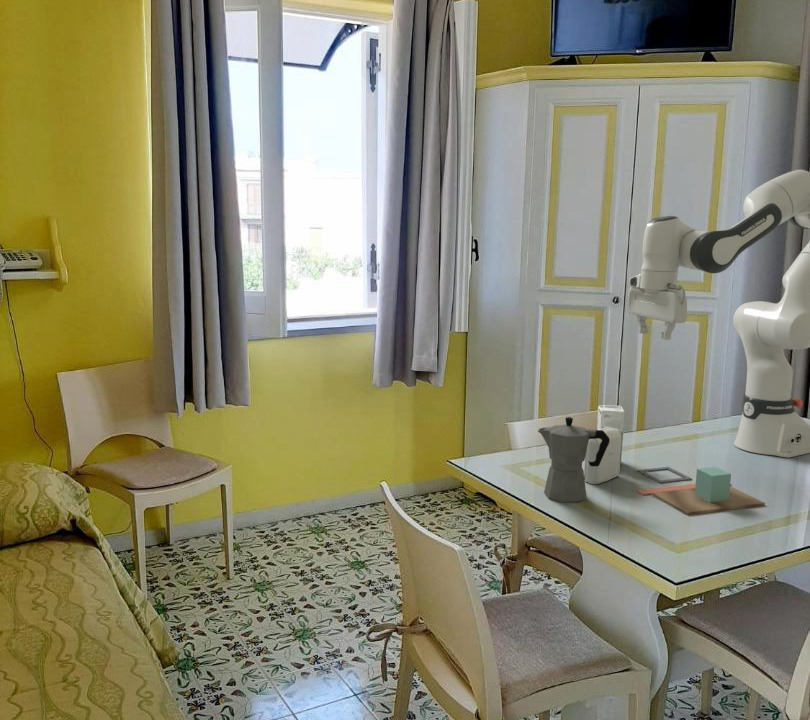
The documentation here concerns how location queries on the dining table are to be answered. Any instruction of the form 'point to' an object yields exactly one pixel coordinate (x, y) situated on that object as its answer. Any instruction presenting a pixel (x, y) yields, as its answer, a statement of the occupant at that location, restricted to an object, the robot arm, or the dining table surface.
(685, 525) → the dining table surface
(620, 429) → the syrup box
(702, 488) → the teal block
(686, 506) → the board
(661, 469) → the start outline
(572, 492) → the coffeepot
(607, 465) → the photo printer
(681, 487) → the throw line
